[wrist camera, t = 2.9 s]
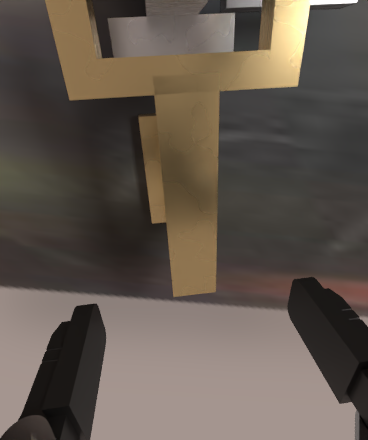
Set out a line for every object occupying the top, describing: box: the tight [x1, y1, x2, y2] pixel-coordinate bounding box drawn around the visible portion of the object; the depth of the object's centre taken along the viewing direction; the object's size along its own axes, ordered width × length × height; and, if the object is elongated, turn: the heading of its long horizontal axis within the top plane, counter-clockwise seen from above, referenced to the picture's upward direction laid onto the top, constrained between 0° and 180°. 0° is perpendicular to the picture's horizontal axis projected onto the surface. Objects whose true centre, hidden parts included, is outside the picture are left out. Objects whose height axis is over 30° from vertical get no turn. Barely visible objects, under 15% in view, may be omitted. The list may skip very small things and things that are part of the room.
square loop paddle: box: [45, 0, 311, 297], centre depth 12 cm, size 16×7×8 cm, turn 3°
